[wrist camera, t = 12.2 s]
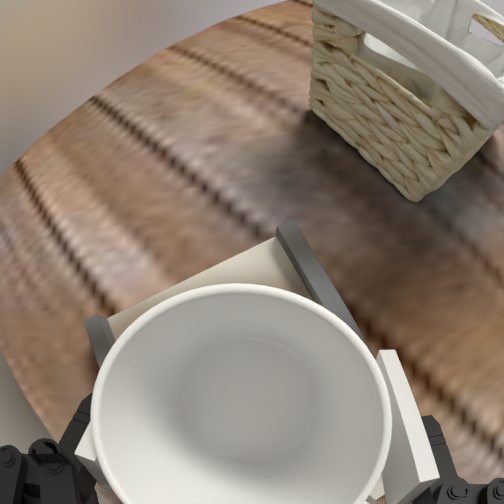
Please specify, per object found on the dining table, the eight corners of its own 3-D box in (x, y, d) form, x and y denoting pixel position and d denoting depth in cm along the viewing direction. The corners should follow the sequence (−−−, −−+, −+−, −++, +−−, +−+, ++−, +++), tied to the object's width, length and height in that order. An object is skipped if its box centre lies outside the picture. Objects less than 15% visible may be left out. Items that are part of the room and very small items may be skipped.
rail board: (416, 460, 17) (436, 469, 14) (223, 555, 14) (219, 574, 11) (292, 236, 23) (296, 217, 20) (100, 329, 21) (80, 323, 18)
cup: (248, 301, 18) (235, 223, 9) (391, 429, 15) (500, 463, 6) (150, 395, 16) (44, 410, 7) (295, 522, 13) (321, 626, 4)
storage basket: (414, 57, 33) (443, -24, 19) (502, 134, 28) (555, 58, 14) (290, 109, 28) (301, -29, 14) (414, 229, 23) (517, 106, 10)
